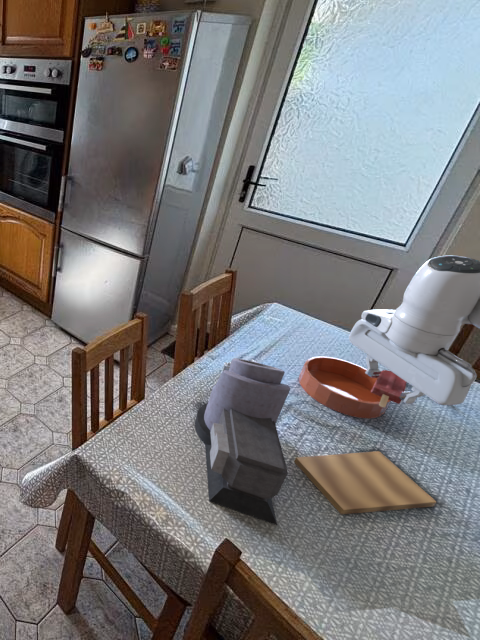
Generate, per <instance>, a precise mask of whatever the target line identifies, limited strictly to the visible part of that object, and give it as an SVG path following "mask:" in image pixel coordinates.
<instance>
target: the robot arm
mask: <svg viewBox="0 0 480 640" xmlns="http://www.w3.org/2000/svg"><path fill="white" fill-rule="evenodd" d="M402 299H403V300H402V302H401V304H400V305H399V306H398V307H396V309H370V310H369V309H368V310H363V312H362V313H361V319H358V320H357V321H356V322H355V323H354V325H353V327H352V329H351V330H350V333H349V335H348V341H349V343H350V344H351V345H352V346H354V347H355V348H356V349H358V350H359V351H361V352H362V353H364V354H365V355H366V357H365V362H366V367H367V368H366V369H367V370H366V372H365V373H366V374H367V375H368V376H370V377H371V378H378V377H379V376H380V375H379V374H381V372H382V371H383V370H380V368H379V364H380V365H381V366H383V367H384V368H386V370H388V371H391V372H393V373H394V374H396V375H397V376H399V377H400V378H402V379H403V380H405V381H406V382H407V383H406V384H409V385H410V386H412V387H411V390H410V391H405V392H402V393H401V394H400V395H401V396H399V398H400V399H401V400H402V401H401V402H403V403H405V404H406V405H409V404H411V405H412V404H414V403H415V402H416V400H417V398H421V397H424V396H426V397H427V398H429V399H430V400H432V401H433V402H435V403H436V404H438V405H440V406H457V405H462V404H463V403H464V402H465V400H466V398H467V396H468V394H469V392H470V390H471V386H472V385H473V384H474V382H475V380H476V379H477V377H478V374H477V373H476V371H475V369H474V368H473V367H472V364H471V363H470V362H468V361H466V360H465V359H462V358H460V357H459V356H457V355H455V354H454V353H452V352H451V351H450V350H449V349H450V348H451V346H452V344H453V342H454V341H455V340H456V338H457V336H458V335H459V333H460V331H461V327H462V325H465V324H466V325H473V326H474V327H475V328H478V330H480V260H478V259H475V258H472V257H467V256H462V255H461V256H459V255H441V256H440V255H438V256H434V257H431V258H430V259H428V260H427V261H426V262H425V263H423V264H422V265H421V266H420V268H419V269H418V270H417V271H416V272H415V274H414V275H413V277H412V278H411V280H410V281H409V283H408V285H407V287H406V289H405V291H404V293H403V298H402Z"/></svg>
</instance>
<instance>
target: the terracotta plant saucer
mask: <svg viewBox="0 0 480 640" xmlns="http://www.w3.org/2000/svg"><path fill="white" fill-rule="evenodd" d="M366 370H367V368H365V367H363V366H361V365H359V364H356V363H354V362H351V361H349V360H345V359H341V358H339V357H332V356H326V355H325V356H324V355H322V356H319V355H318V356H312V357H309V358H308V359H306V360H305V362H304V364H303V366H302V368H301V371H300V372H299V374H298V383H299V385H300V387H301V388H302V390H303V391H304V392H305V393H306V394H307V395H308V396H309V397H310V398H312V399H313V400H315V401H316V402H318V403H319V404H320V405H322V406H325V407H327V408H328V409H330V410H331V411H332V410H333V411H336V412H337V413H340V414H343V415H345V416H349V417H352V418H353V417H354V418H357V419H367V420H368V419H376V418H380V417H382V416H383V415H384V414H385V413H386V411H387V410H388V407H389V406H390V404H391V402H392V401H390V400H388V401H387V404H386V407H385V408H383V407H380V406H379V403H380V400H381V398H382V397H380V396H378V395H376V394H373V393H371V390H372V388H373V386H374V384H375V382H376V380H377V378H371V377H370V376H368V375H367V374H366V373H365V372H366Z"/></svg>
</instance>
